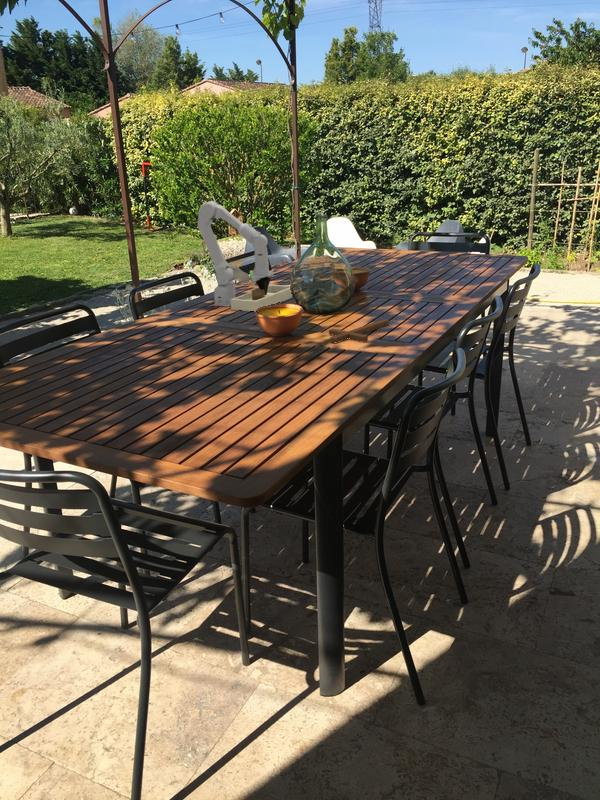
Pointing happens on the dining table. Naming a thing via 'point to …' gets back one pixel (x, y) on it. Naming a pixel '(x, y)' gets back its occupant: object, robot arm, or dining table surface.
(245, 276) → the decorative bird
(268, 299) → the trap box
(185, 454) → the dining table surface
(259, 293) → the walnut block
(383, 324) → the cross
